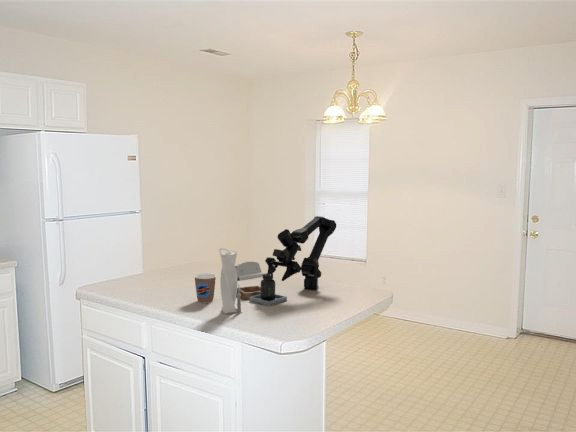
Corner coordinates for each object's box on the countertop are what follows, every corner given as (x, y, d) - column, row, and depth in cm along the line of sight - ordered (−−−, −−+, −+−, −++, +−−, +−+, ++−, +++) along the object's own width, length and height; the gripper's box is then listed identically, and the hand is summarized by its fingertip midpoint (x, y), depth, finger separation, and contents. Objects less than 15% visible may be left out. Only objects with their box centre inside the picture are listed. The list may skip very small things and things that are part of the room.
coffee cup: (190, 303, 232) (190, 277, 231) (198, 297, 242) (198, 273, 241) (212, 304, 230) (212, 278, 229) (219, 298, 240) (219, 273, 239)
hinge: (239, 280, 280) (236, 262, 281) (235, 281, 283) (231, 264, 285) (264, 276, 290) (260, 259, 292) (259, 277, 294) (256, 261, 295)
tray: (267, 296, 245) (267, 292, 245) (286, 300, 238) (286, 296, 237) (249, 301, 236) (249, 297, 236) (269, 306, 228) (269, 301, 228)
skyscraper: (222, 315, 214) (222, 250, 211) (217, 310, 221) (216, 247, 219) (241, 313, 217) (241, 248, 215) (236, 308, 225) (235, 246, 222)
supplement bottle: (258, 298, 239) (258, 273, 238) (272, 297, 241) (272, 272, 240) (263, 302, 233) (263, 276, 231) (277, 300, 235) (277, 275, 234)
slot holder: (258, 291, 255) (258, 285, 255) (267, 296, 245) (267, 290, 244) (235, 293, 250) (235, 287, 250) (244, 299, 239) (244, 293, 239)
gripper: (267, 240, 248) (251, 266, 240) (297, 244, 236) (281, 272, 228) (278, 254, 254) (263, 280, 247) (307, 258, 243) (293, 285, 235)
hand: (274, 279), depth 239 cm, fingers open, 9 cm apart
